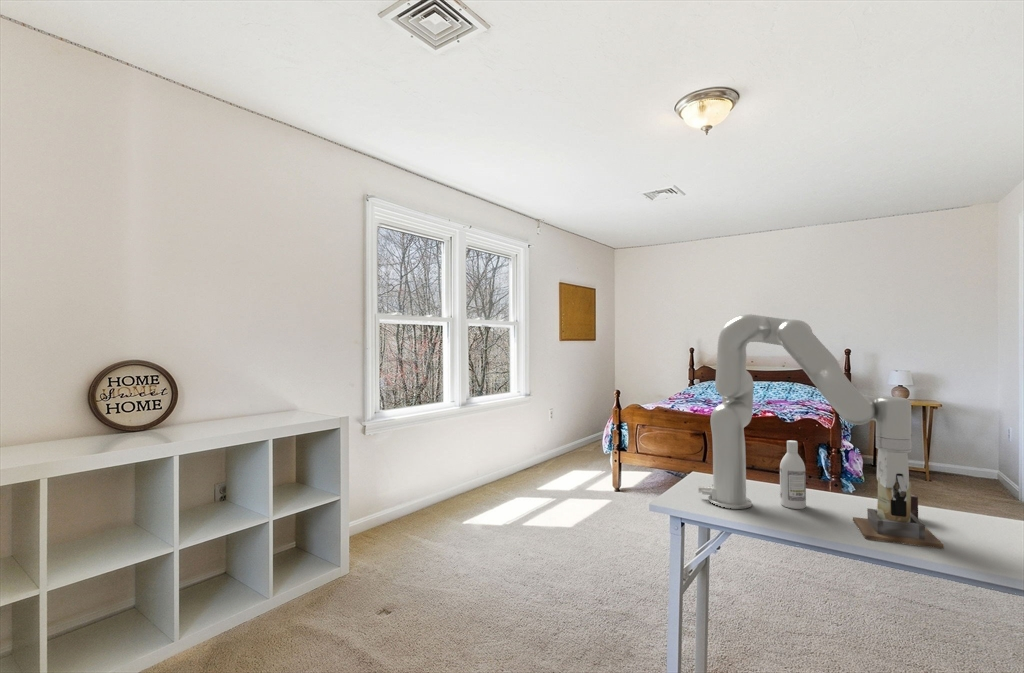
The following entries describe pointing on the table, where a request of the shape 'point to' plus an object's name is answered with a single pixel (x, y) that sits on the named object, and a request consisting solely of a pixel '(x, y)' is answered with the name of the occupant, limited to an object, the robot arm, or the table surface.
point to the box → (914, 505)
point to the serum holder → (896, 530)
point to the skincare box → (885, 503)
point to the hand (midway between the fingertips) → (893, 510)
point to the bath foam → (792, 478)
